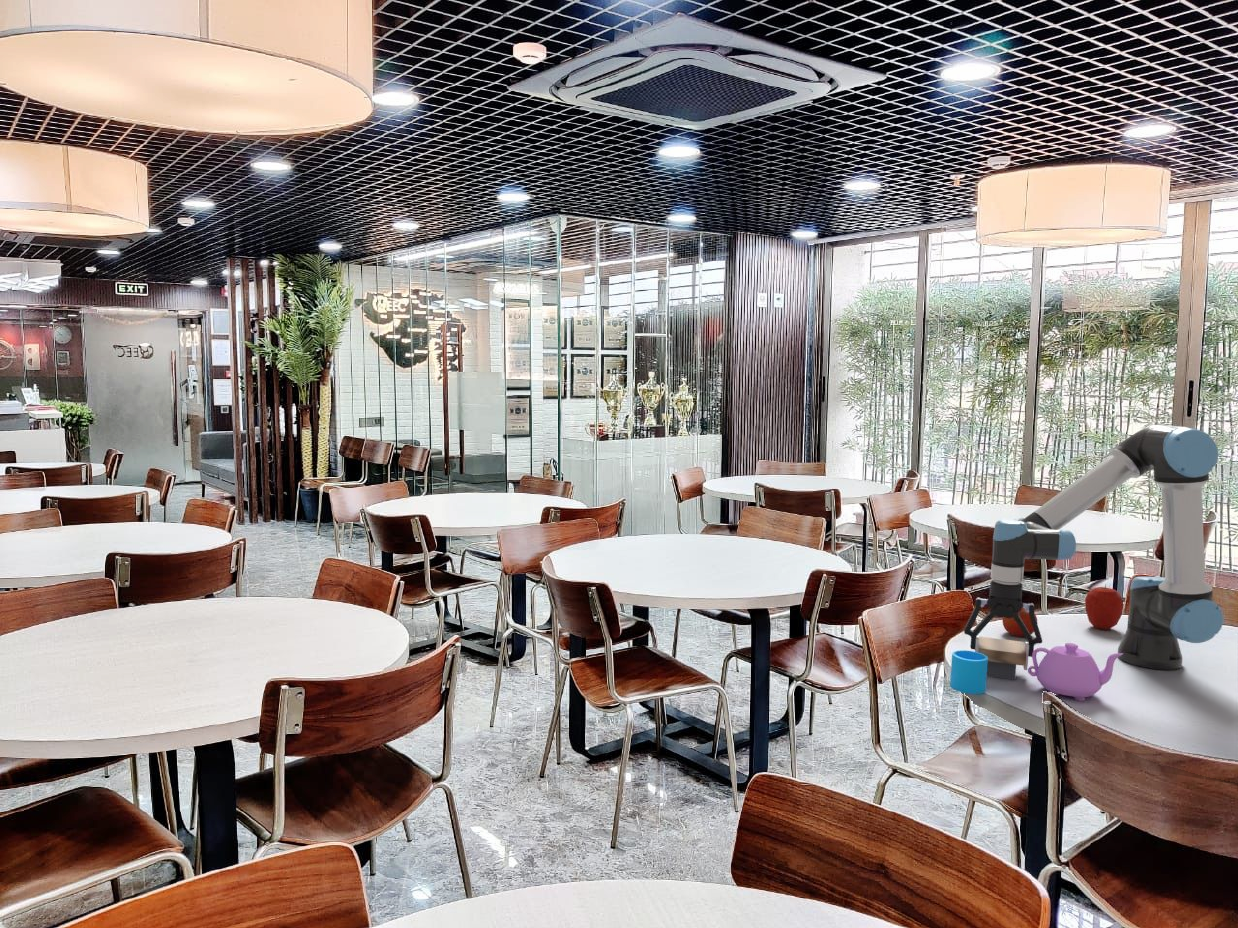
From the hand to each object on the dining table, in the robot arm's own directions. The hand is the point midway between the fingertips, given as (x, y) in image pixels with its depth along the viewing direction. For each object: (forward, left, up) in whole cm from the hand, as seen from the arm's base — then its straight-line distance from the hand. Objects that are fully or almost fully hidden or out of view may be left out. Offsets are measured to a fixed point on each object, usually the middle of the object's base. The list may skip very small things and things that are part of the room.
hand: (1000, 664), depth 231 cm
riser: (0, 0, -2) cm, 2 cm away
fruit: (-6, -40, -3) cm, 41 cm away
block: (0, 0, +2) cm, 2 cm away
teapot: (-16, +8, -3) cm, 18 cm away
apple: (-30, -59, -2) cm, 66 cm away
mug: (+8, +13, -3) cm, 15 cm away
